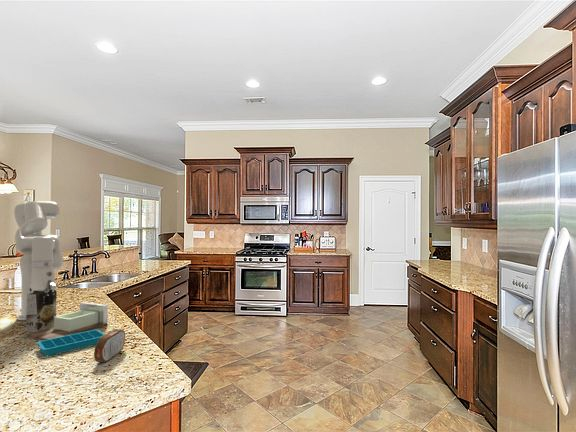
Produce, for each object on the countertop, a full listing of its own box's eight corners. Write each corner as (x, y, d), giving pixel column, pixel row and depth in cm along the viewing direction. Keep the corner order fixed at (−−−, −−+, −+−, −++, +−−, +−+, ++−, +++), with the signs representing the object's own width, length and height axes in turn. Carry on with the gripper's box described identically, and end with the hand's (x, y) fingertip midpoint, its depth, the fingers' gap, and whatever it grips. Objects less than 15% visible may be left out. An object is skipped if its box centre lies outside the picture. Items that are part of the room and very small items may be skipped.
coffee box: (37, 332, 139) (38, 294, 140) (25, 331, 141) (25, 293, 141) (56, 326, 148) (57, 290, 149) (45, 325, 150) (45, 289, 150)
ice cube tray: (36, 350, 121) (36, 341, 121) (97, 336, 135) (97, 329, 135) (42, 358, 113) (42, 350, 113) (107, 343, 127) (107, 335, 127)
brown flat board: (26, 337, 134) (26, 334, 134) (83, 321, 156) (83, 318, 156) (51, 342, 127) (51, 339, 127) (107, 324, 149) (107, 322, 149)
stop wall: (79, 320, 154) (79, 302, 154) (83, 318, 156) (84, 301, 156) (103, 324, 148) (103, 306, 148) (107, 322, 149) (107, 305, 150)
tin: (118, 348, 120) (118, 325, 121) (126, 349, 120) (127, 325, 121) (92, 366, 105) (93, 340, 106) (102, 366, 105) (102, 340, 106)
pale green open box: (53, 328, 141) (54, 316, 141) (83, 320, 153) (83, 309, 153) (69, 331, 137) (69, 319, 137) (98, 322, 149) (98, 311, 149)
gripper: (63, 264, 145) (63, 303, 144) (39, 263, 152) (39, 301, 151) (45, 266, 138) (45, 307, 137) (21, 265, 145) (20, 304, 144)
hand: (42, 304), depth 144 cm, fingers open, 9 cm apart
